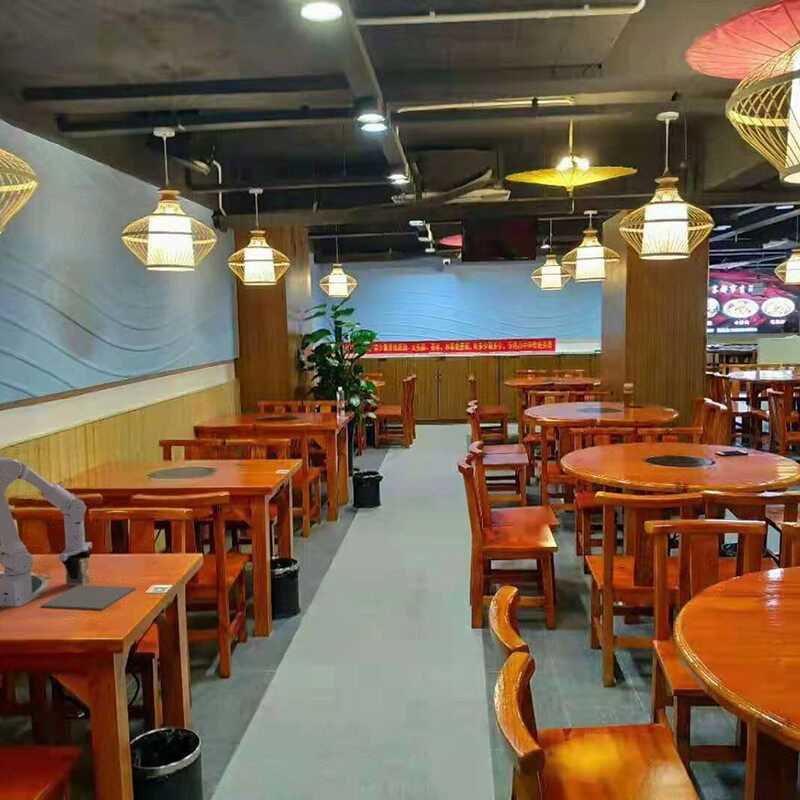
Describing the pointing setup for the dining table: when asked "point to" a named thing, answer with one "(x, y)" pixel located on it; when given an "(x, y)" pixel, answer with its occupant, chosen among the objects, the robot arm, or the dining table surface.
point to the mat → (89, 597)
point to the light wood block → (80, 573)
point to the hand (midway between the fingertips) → (77, 576)
